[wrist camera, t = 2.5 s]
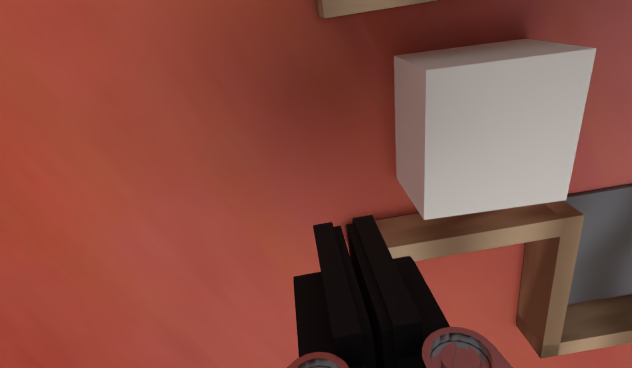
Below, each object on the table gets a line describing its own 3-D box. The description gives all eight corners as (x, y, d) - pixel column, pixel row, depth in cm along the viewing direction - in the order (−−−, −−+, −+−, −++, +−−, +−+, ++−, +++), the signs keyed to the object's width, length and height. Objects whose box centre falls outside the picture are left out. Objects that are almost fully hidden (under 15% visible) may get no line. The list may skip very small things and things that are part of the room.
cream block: (525, 38, 20) (596, 48, 15) (510, 161, 23) (566, 200, 18) (392, 55, 20) (426, 70, 15) (395, 177, 23) (423, 220, 18)
